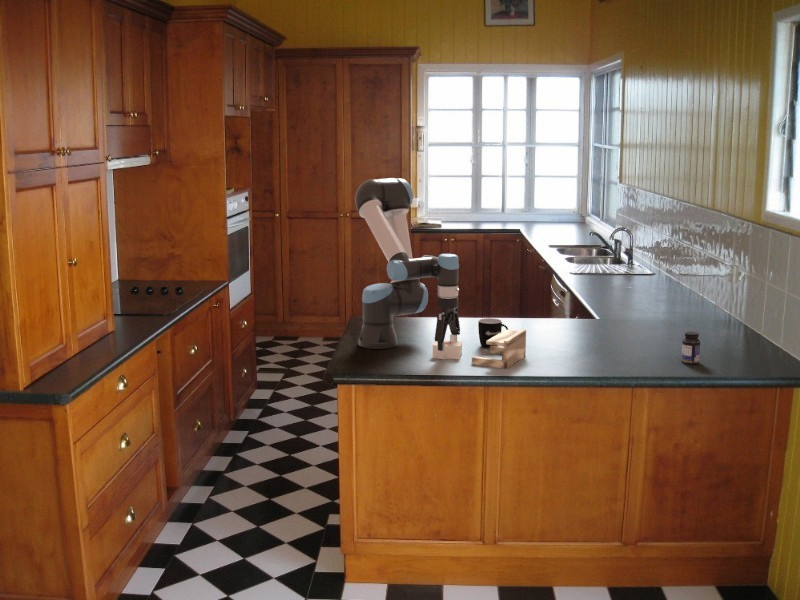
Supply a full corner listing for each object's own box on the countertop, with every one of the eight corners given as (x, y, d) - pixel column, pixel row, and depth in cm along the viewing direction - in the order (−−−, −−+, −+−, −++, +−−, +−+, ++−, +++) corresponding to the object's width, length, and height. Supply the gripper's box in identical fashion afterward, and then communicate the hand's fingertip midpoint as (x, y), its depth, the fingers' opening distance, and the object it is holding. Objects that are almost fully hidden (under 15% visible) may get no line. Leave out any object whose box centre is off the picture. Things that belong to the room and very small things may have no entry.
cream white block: (432, 358, 326) (432, 343, 324) (435, 353, 332) (435, 339, 331) (459, 359, 324) (459, 345, 323) (461, 354, 330) (461, 340, 329)
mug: (482, 349, 336) (482, 323, 334) (475, 344, 345) (475, 318, 343) (512, 348, 339) (512, 322, 337) (504, 342, 347) (504, 317, 345)
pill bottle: (695, 360, 321) (697, 330, 318) (701, 364, 315) (703, 334, 312) (678, 360, 320) (680, 330, 318) (684, 365, 314) (686, 334, 312)
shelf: (471, 364, 317) (472, 337, 315) (491, 351, 333) (491, 326, 331) (507, 368, 311) (507, 341, 309) (525, 356, 327) (526, 329, 325)
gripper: (444, 303, 312) (443, 363, 316) (469, 292, 331) (468, 349, 336) (425, 301, 315) (424, 361, 320) (451, 290, 335) (450, 347, 339)
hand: (447, 355), depth 328 cm, fingers open, 10 cm apart
